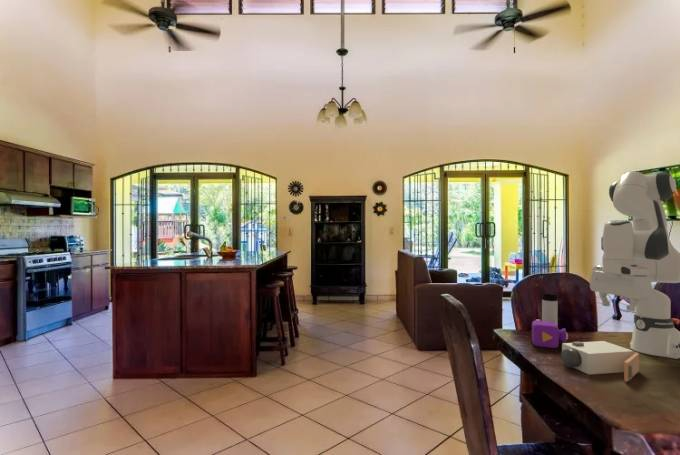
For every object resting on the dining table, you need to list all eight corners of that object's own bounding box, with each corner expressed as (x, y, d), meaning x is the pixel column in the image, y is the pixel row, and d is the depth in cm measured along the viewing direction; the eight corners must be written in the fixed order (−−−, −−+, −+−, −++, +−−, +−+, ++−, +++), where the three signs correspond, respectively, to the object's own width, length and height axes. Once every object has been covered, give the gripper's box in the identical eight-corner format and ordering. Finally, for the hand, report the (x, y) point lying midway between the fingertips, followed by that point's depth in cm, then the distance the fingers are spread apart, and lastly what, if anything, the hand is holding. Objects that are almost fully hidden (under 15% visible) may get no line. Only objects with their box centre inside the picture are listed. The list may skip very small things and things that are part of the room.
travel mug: (539, 336, 176) (539, 292, 176) (544, 333, 180) (544, 291, 180) (554, 339, 171) (554, 294, 171) (559, 336, 176) (559, 292, 176)
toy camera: (571, 350, 156) (571, 326, 156) (535, 348, 158) (535, 324, 158) (562, 342, 166) (562, 319, 166) (528, 340, 169) (528, 318, 169)
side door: (634, 368, 134) (634, 351, 134) (643, 370, 132) (643, 353, 132) (621, 380, 124) (621, 361, 124) (631, 382, 122) (631, 363, 122)
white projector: (603, 359, 145) (603, 338, 145) (633, 371, 133) (633, 348, 133) (554, 362, 141) (555, 341, 141) (581, 375, 129) (581, 351, 129)
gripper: (585, 265, 140) (585, 303, 140) (638, 270, 120) (638, 315, 119) (600, 265, 141) (600, 302, 141) (655, 270, 121) (655, 314, 121)
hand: (617, 308), depth 130 cm, fingers open, 8 cm apart
